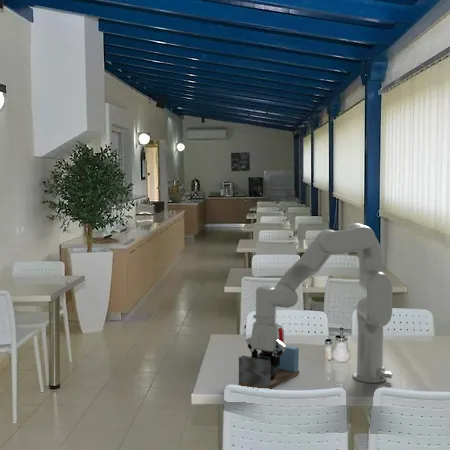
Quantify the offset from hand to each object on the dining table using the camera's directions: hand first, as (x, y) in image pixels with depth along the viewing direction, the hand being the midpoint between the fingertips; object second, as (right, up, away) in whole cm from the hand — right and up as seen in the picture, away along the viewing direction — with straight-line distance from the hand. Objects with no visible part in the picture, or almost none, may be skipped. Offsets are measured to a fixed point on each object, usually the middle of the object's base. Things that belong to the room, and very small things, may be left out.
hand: (265, 364), depth 251 cm
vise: (+2, -6, +3) cm, 7 cm away
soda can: (+6, -3, +37) cm, 37 cm away
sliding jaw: (+8, -4, +11) cm, 14 cm away
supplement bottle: (0, -5, +1) cm, 5 cm away
